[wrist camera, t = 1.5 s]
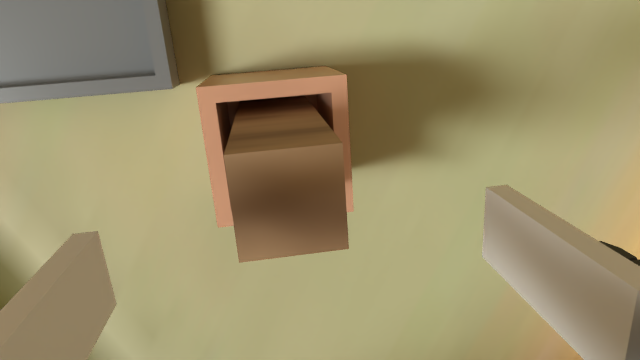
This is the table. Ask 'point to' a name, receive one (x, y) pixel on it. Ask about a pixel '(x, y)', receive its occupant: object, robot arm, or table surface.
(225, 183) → the square pink sleeve
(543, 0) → the table surface
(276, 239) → the walnut peg
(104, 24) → the charcoal tray
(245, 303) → the table surface
